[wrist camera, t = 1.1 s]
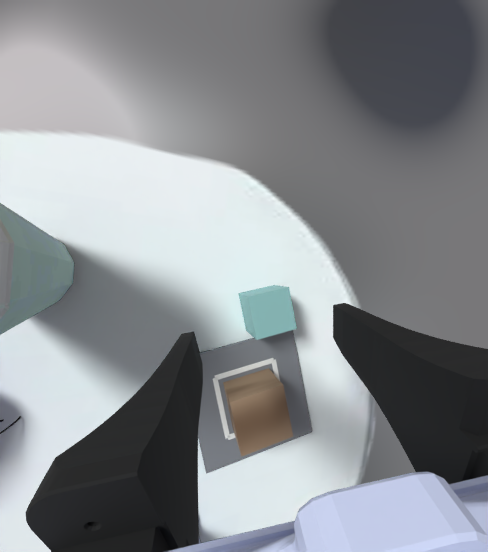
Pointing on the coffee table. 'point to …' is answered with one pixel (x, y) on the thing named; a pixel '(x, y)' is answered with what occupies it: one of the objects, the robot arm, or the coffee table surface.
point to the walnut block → (258, 410)
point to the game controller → (10, 425)
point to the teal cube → (267, 311)
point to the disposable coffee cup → (29, 269)
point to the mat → (237, 363)
